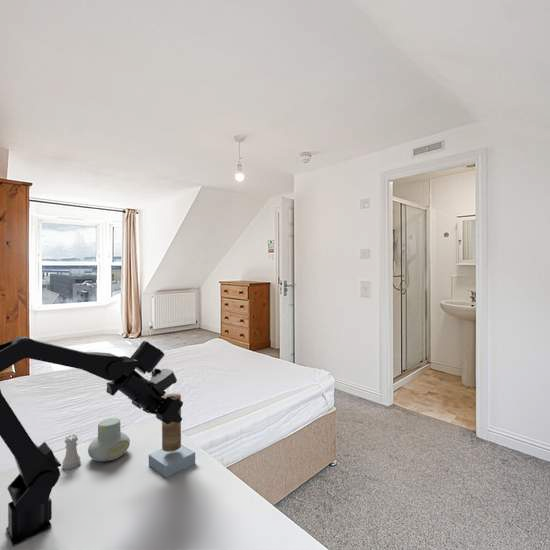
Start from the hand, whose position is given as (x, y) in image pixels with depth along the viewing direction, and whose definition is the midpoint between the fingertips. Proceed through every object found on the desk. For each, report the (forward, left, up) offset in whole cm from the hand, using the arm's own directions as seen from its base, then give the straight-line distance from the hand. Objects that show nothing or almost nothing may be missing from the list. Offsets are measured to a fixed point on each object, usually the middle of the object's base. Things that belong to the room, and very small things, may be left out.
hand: (175, 418), depth 93 cm
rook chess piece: (-20, +21, -13) cm, 32 cm away
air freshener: (-11, +18, -13) cm, 25 cm away
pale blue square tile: (-1, 0, -12) cm, 12 cm away
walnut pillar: (-1, 0, -8) cm, 8 cm away
